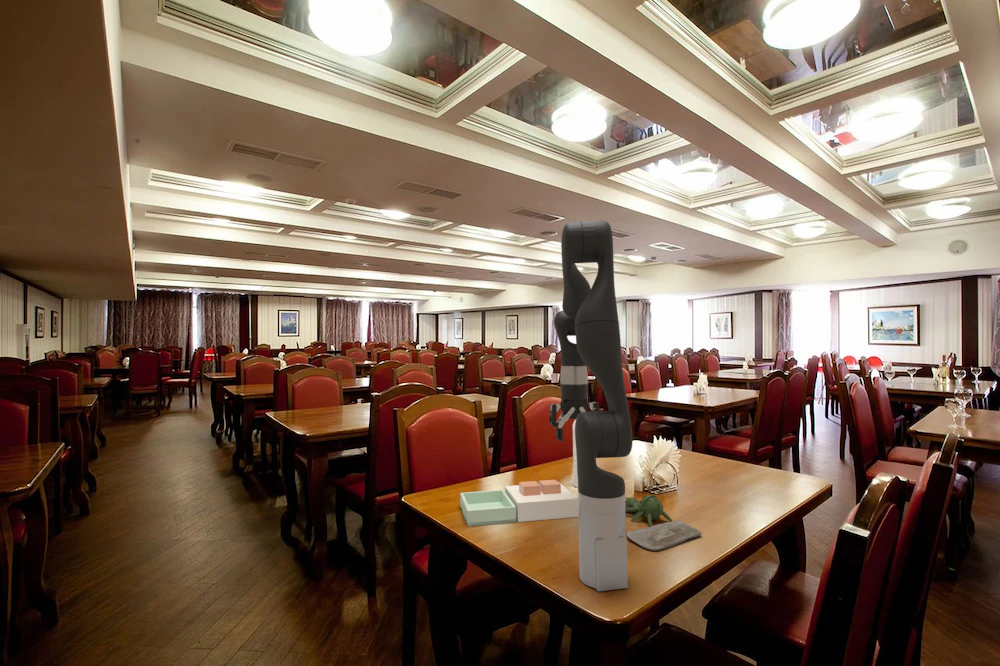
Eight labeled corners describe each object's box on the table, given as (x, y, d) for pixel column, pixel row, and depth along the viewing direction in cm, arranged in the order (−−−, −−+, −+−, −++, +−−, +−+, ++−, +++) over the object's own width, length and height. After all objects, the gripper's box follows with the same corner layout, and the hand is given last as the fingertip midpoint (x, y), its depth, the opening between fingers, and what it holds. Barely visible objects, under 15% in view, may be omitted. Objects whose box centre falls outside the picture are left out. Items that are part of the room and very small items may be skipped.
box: (516, 522, 125) (516, 507, 125) (467, 526, 122) (467, 511, 122) (503, 503, 140) (503, 489, 140) (460, 506, 138) (460, 492, 138)
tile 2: (560, 493, 133) (560, 484, 133) (544, 494, 132) (543, 485, 132) (555, 488, 138) (555, 479, 138) (538, 489, 137) (538, 480, 137)
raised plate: (578, 516, 128) (577, 498, 128) (518, 522, 125) (517, 503, 125) (559, 498, 144) (558, 482, 144) (505, 503, 140) (504, 486, 141)
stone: (652, 550, 105) (621, 530, 114) (652, 562, 105) (621, 541, 114) (707, 529, 113) (674, 512, 122) (707, 540, 114) (674, 522, 122)
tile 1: (540, 494, 132) (540, 485, 132) (523, 496, 131) (523, 487, 131) (535, 489, 137) (535, 480, 137) (519, 490, 136) (519, 482, 136)
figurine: (626, 486, 141) (676, 493, 124) (630, 513, 139) (680, 523, 123) (597, 492, 136) (645, 499, 119) (601, 520, 134) (649, 532, 118)
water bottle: (596, 487, 155) (595, 411, 156) (580, 489, 153) (578, 412, 154) (582, 480, 163) (581, 408, 164) (566, 482, 161) (565, 409, 162)
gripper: (554, 384, 125) (555, 444, 125) (603, 382, 128) (604, 441, 128) (545, 381, 133) (546, 439, 132) (592, 380, 136) (593, 436, 135)
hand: (575, 440), depth 130 cm, fingers open, 8 cm apart
